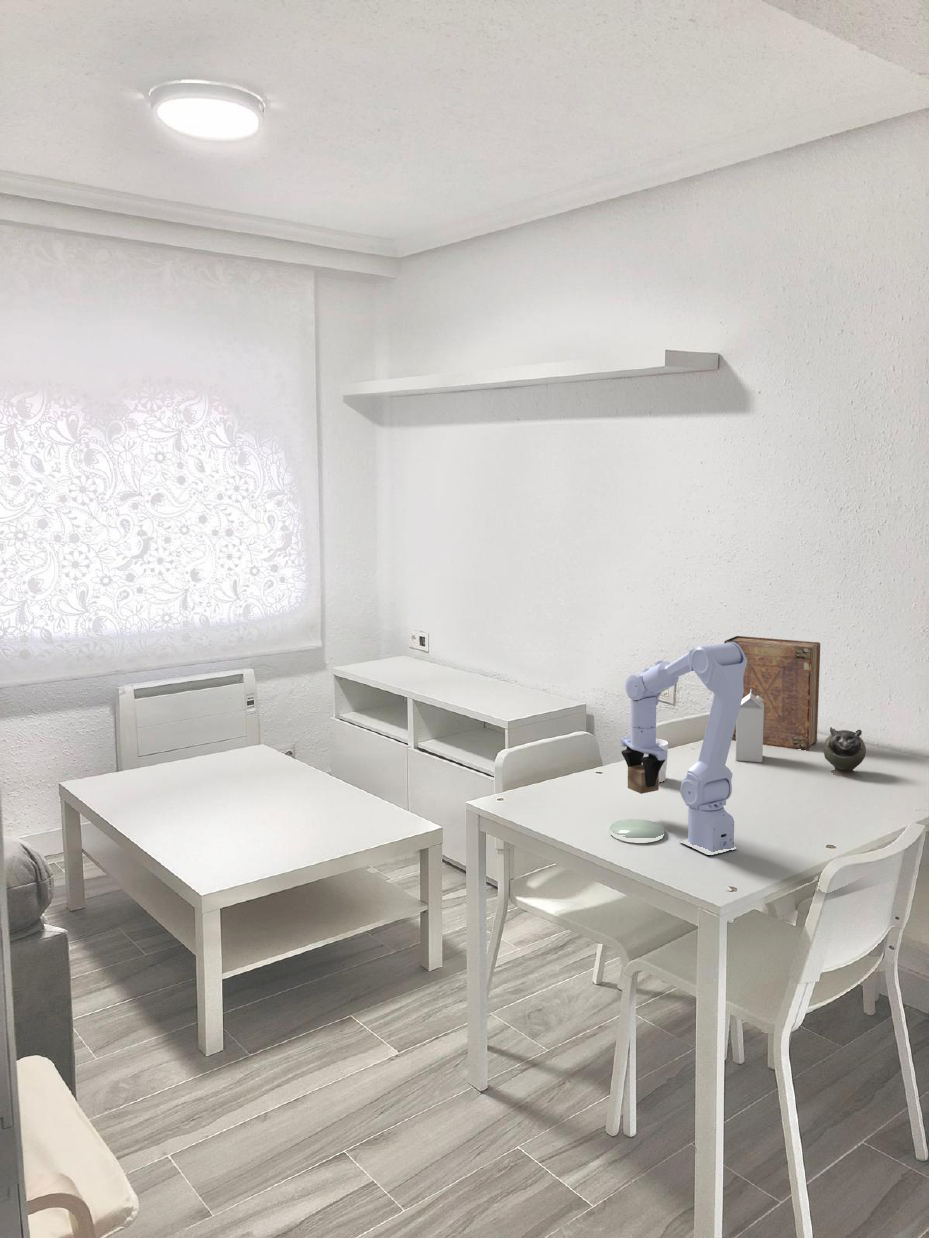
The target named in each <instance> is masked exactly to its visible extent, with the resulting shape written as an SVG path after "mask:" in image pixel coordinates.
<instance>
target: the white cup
mask: <svg viewBox="0 0 929 1238" xmlns="http://www.w3.org/2000/svg"><path fill="white" fill-rule="evenodd" d="M656 742H659V746H660V747H661V748H662V749H664V750H666V751H667V756H669V755H668V753H669V751H668V750H669V742H668V741H667V740H665V739H661V738H656ZM647 756H648V754H645V753H644V756H643V757H647ZM642 764H643V763H642ZM667 765H668V758H667V759H666V760H665V762H664V763H663V765H662V767H661V769H660V771H659V782H661V783H663V781H664V782H665V781H666V780H667Z"/></svg>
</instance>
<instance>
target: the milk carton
mask: <svg viewBox="0 0 929 1238" xmlns="http://www.w3.org/2000/svg"><path fill="white" fill-rule="evenodd" d="M762 702H763V699H762V698H761V697H759V696H756V697H755V696H754V695H753V694H752V693H751V690H750V693H749V694H748V695H747V696H745V697H744V698H743V699H742V701H741V705H740V709H739V713H738V717H737V721H736V740H735V761H737V762H738V761H739V762H753V763H763V757H764V756H763V751H764V750H763V749H764V748H763V747H764V744H763V721H764V704H763V703H762Z"/></svg>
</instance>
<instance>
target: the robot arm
mask: <svg viewBox="0 0 929 1238" xmlns="http://www.w3.org/2000/svg"><path fill="white" fill-rule="evenodd" d="M746 664H747V659H746V657H745V655H744V653H743V651H742V649H741V647H740V646H739V645H738V644H737V643H735V642H728V643H725V644H724V643H718V644H713V645H712V644H711V645H699V646H696V647H694V648H691V649H689V650H688V652H686V653H684V654H683V655H682V656H680V657H679V658H677V659H675V660H674V661H672V662H669V661H664V660H658V661H655V662H654V666H652V667H651V668H645V669H643V670H642V673H640V674H630V675H629V676H628V678H627V679H626V681H625V685H624V686H625V692H626V695H627V696H628V698H629V699H630V737H628V736H624V737H621V738H620V746H621V747H624V748H626V749H623V750H621V755H622V757H623V758H624V760H625V763H626V765H627V768H628V767H631V766H636V765H642V763H643V766H644V771H645V782H646V787H653V786H655V784H656V781H657V777H658V774H659V771H660V769H661V767H662V765H663V763H664V762H665V760H666V759H667V760H668V755H667V751H666V750H664V749H662V748H661V747H660V746H659V742H656V739H657V706H658V704H659V703H660V702H659V698H660V696H661V695H662V692H664V691H665V690H668V689H670V688H672V687H673V686H676V685H677V683H679V679H680V677H681V676H683V675H686V674H688V673H691V672H694V673H695V674H696V675H697V677H698V678H699V679H700V681H701V682H702V683H703V684H704V687H706V689H707V690H708V691H710V692H712V693H713V700H712V703H711V706H710V710H709V711H710V712H709V715H708V720H707V723H706V727H705V732H704V735H703V741H702V745H701V748H700V752H699V758H698V760H697V761H696V762H695V763H694V764H693V765H692V766H691V767H690V768H689V769H688V770H687V773H686V776H685V778H683V780H682V782H681V783H680V791H679V792H680V794H681V795H680V797H681V798H682V800H683V801H684V804H685V805H686V806H687V807H688V809H687V810H688V815H687V816H688V817H687V818H688V819H687V826H688V827H687V838H688V842H690V844H692V845H697V846H699V847H703V848H705V849H708V850H709V851H711V852H715V851H718V850H723V849H731V848H734V846H735V820H734V817H733V816H732V815H731V814H730V813H728V812H727V811H726V810H725V808H724V806H726V805H727V800H729V798H731V796H732V794H733V793H732V792H733V786H732V778H733V772H732V771H731V770H730V768H729V767H727V765H726V763H727V759H728V755H729V751H730V748H731V744H732V737H733V733H734V729H735V725H736V721H737V717H738V713H739V709H740V705H741V701H742V697H743V692H744V688H743V676H744V672H745V668H746ZM644 753H645V754H648V756H647V757H643V756H644Z"/></svg>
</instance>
